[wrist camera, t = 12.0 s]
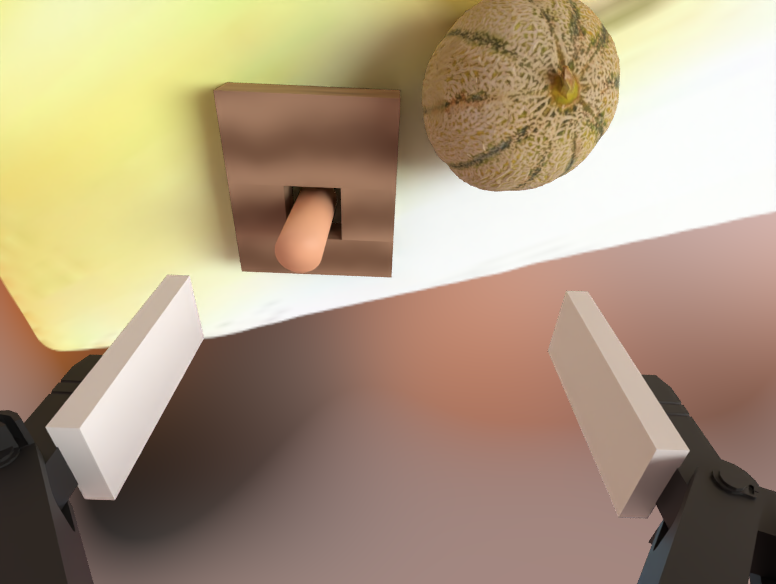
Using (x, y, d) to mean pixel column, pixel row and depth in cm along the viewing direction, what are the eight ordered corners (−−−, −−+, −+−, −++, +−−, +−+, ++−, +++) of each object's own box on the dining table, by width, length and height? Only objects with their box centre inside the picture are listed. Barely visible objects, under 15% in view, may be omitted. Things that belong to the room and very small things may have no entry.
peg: (298, 179, 48) (272, 229, 37) (336, 181, 48) (321, 232, 38) (300, 215, 50) (276, 271, 40) (337, 216, 50) (323, 273, 40)
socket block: (227, 82, 42) (213, 90, 39) (400, 90, 43) (400, 98, 39) (251, 253, 52) (241, 271, 49) (391, 259, 53) (391, 277, 49)
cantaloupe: (406, 151, 46) (411, 211, 33) (433, -26, 38) (452, -35, 25) (550, 170, 47) (607, 236, 34) (606, 1, 39) (707, 6, 26)
